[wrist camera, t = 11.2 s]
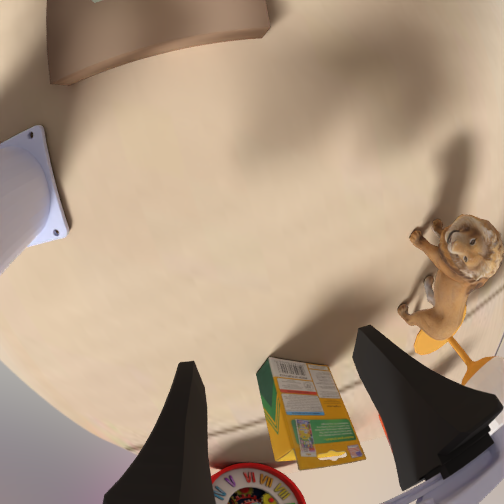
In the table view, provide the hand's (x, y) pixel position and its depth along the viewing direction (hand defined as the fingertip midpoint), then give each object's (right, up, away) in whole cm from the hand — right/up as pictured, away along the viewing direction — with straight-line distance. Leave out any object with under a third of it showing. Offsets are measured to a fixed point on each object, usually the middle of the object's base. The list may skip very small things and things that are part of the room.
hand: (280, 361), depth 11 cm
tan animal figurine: (+14, +4, +11) cm, 18 cm away
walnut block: (-7, +21, -1) cm, 23 cm away
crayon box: (+3, -7, +15) cm, 17 cm away
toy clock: (-3, -35, +29) cm, 45 cm away
